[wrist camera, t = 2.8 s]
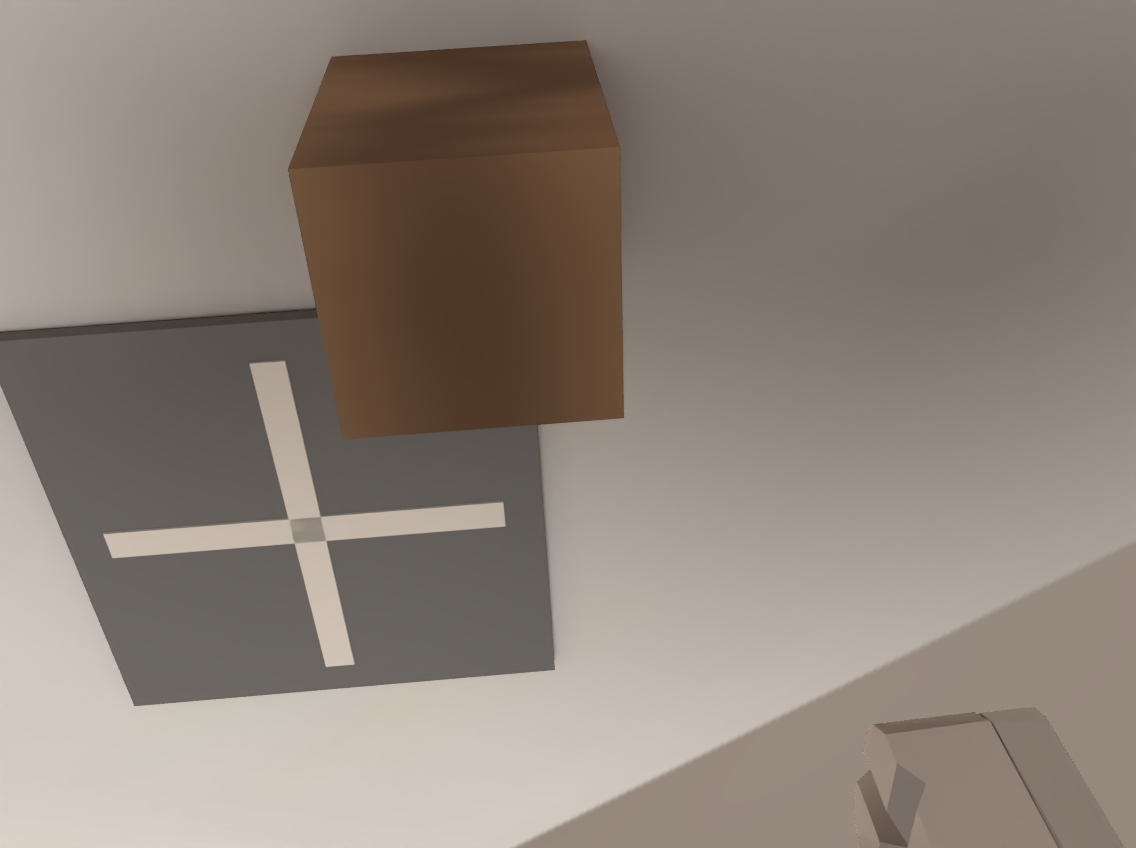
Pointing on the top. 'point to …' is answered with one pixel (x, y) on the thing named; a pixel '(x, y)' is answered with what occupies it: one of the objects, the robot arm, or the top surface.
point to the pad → (274, 514)
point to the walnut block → (464, 238)
